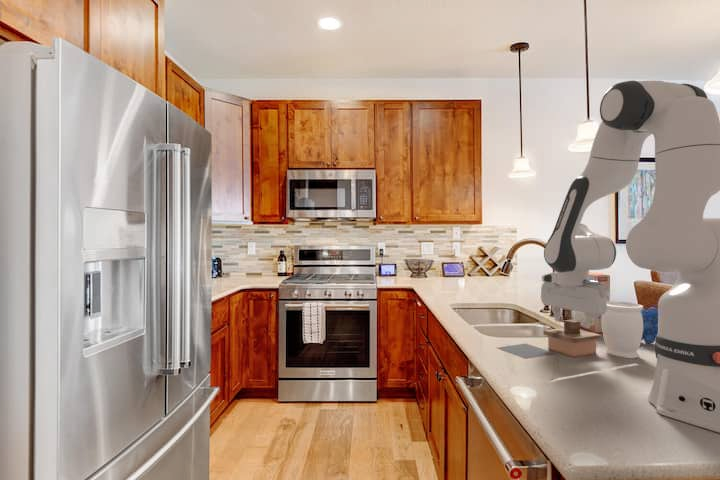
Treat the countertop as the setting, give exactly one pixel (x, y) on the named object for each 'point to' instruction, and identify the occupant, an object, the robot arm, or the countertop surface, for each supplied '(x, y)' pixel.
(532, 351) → the mat
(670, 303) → the robot arm
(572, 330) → the lid
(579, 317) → the cracker box
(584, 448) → the countertop surface
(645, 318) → the grapes
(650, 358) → the countertop surface
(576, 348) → the dish
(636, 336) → the jar
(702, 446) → the countertop surface
